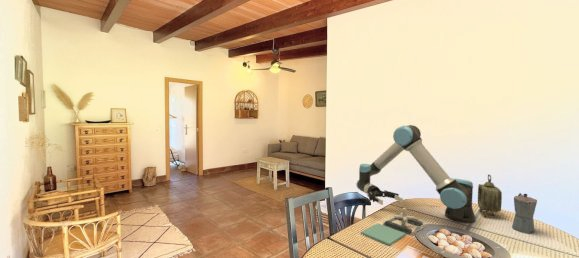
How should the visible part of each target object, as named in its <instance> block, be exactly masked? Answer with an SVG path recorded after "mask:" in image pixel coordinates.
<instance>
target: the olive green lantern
mask: <svg viewBox="0 0 579 258" xmlns="http://www.w3.org/2000/svg"><path fill="white" fill-rule="evenodd" d="M477 187H478V188H477V206H478V207H479V211H480V212H482V211H485V212H484V213H485V214H483V218H487V217H488V216H487V214H488V213H489V212H490V216H495V213H498V212H501V211H502V203H503V201H502V200H503V198H502V197H503V196H502V195H503V193H502V191H501V189H500V188H499V187H498V186H496V185H495V184H494V182H492V175H491V174H487V181H486V182H485V183H484V184H478V186H477Z"/></svg>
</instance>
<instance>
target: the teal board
mask: <svg viewBox="0 0 579 258" xmlns="http://www.w3.org/2000/svg"><path fill="white" fill-rule="evenodd" d="M362 234H363V235H362ZM360 235H362V236H364V235H365V237H367V238H369V239H372V240H373V241H376V242H379V243H381V244H383V245H385V246H387V247H390V246H392V245H394V244H395V243H397V242H398V241H399V240H401V239H403V238H405V237H406V236H407V234H406V233H403V232H401V231H398V230H395V229H392V228H390V227H387V226H384V225H383V224H381V223H375V224H374V225H371V226H369V227H367V228H366V229H363V230H361V231H360Z"/></svg>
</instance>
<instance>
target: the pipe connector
mask: <svg viewBox="0 0 579 258" xmlns="http://www.w3.org/2000/svg"><path fill="white" fill-rule="evenodd" d="M393 218H397V219H402V221H401V226H404V227H407V226H406V225H407V224H408V223H407V222H408V220H407V219H411V220H414V219H415V215H414V216H413V215H407V208H406V207H405V208H404V207H403V208H402V212H400V214H394V216H393ZM397 219H396V220H397Z"/></svg>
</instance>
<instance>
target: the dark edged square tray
mask: <svg viewBox="0 0 579 258" xmlns="http://www.w3.org/2000/svg"><path fill="white" fill-rule="evenodd" d="M396 220H398V221H400V222H402V219H397V218H394V217H393V218H390V219H388V220H385V221H384V222H382V225H384V226H387V227H390V228H392V229H395V230H398V231H401V232H403V233H406V235H409V236H411V237H412V236H414V231H415V230H413V229H412V228H410V227H407V226H406V227H404V226H402V224H398V223H395V222H394V221H396ZM407 220H408V222H407V223H406V224H409V225H413V226H416V227H418V226H421V225H424V222H423V221H421V220H419V219H418V218H417V219H416V218H414V220H411V219H407Z"/></svg>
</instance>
